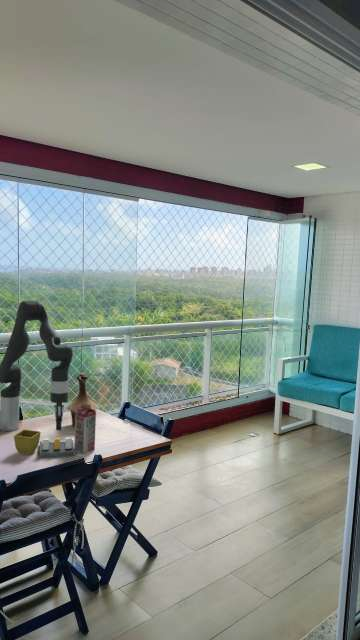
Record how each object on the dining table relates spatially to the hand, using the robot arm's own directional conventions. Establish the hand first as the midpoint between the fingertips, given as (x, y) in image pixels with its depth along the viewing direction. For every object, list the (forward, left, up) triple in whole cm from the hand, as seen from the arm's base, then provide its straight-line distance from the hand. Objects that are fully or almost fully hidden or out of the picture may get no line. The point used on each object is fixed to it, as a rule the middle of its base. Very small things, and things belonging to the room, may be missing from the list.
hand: (58, 429), depth 213 cm
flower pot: (-13, +10, -14) cm, 22 cm away
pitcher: (+14, +47, -14) cm, 51 cm away
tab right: (+5, +7, -11) cm, 14 cm away
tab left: (-5, +7, -11) cm, 14 cm away
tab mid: (0, +7, -11) cm, 13 cm away
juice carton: (+12, +10, -14) cm, 21 cm away
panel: (0, +11, -14) cm, 17 cm away
